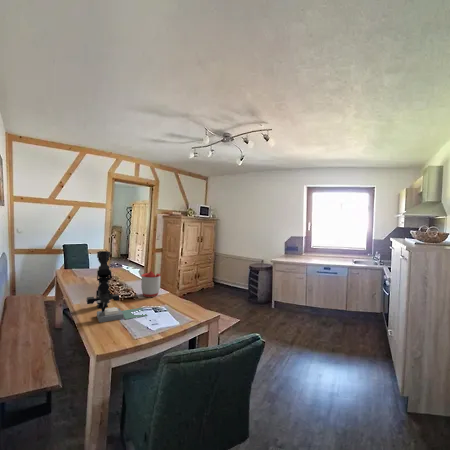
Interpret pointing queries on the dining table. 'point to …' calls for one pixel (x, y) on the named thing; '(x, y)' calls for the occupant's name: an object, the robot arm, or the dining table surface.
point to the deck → (109, 316)
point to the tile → (111, 311)
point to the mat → (129, 315)
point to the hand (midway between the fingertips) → (102, 312)
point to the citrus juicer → (150, 284)
